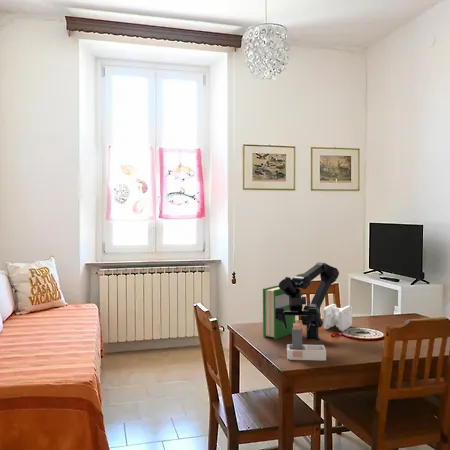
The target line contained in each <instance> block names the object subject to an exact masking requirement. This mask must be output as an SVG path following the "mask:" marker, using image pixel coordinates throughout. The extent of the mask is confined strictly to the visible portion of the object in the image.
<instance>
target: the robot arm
mask: <svg viewBox="0 0 450 450" xmlns="http://www.w3.org/2000/svg"><path fill="white" fill-rule="evenodd" d="M339 275H340V271H339V270H338V268H337V267H335V266H331V265H329V264H327V263H326V262H319V261H318V262H316V264H315V265H313V266H312V267H311V268H309V269H307V271H305V272H304V273H299V274H297V275H294V276H293V277H292V278H291V277H288V276H285V277H284V279H282V280H281V281H280V282H279V283H278V285H279V288H280V289H281V290H282V291H283V292H284V293H285V294H286V295H288V296H289V309H290V311H284V308H276V309H275V319H278V320H279V321H281V322H282V324H283V326H284V328H285V330H286V331H287V325H286V319H285V315H294V316H295V317H299V316H300V319H301V325H302V326H306V334H305V340H308V341H309V340H310V341H311V340H314V341H319V340H321V338H320V336H319V328H322V327H323V326H324V320H322V318H321V311H320V309H321V307H322V304H323V302H324V299H325V298H326V295H327V293H328V291H329V289H330V286H331V285H332V284H334V283H335V282H336V281H337V279H338V277H339ZM318 276H320V282H319V284H318V287H317V288H316V290H315V293H314V295H313V297H312V299H311V302H310V304H309V305H307V297H306V296H304V294H303V292H302V290H307V289H308V288H309V286H310V285H312V284H311V282H312V281H313V280H314V279H316V278H317V277H318ZM303 305H304V306H303Z"/></svg>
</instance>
